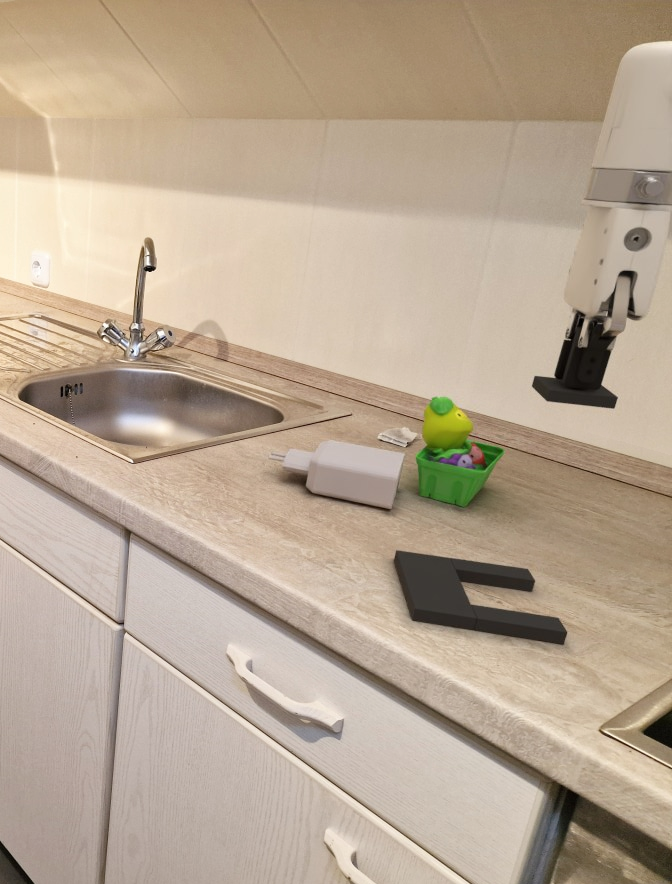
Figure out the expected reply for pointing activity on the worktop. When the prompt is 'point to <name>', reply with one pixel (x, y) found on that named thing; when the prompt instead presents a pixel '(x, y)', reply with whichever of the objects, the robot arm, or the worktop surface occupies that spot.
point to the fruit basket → (452, 455)
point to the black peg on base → (573, 389)
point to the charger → (348, 471)
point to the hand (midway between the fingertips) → (576, 382)
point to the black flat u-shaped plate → (446, 603)
